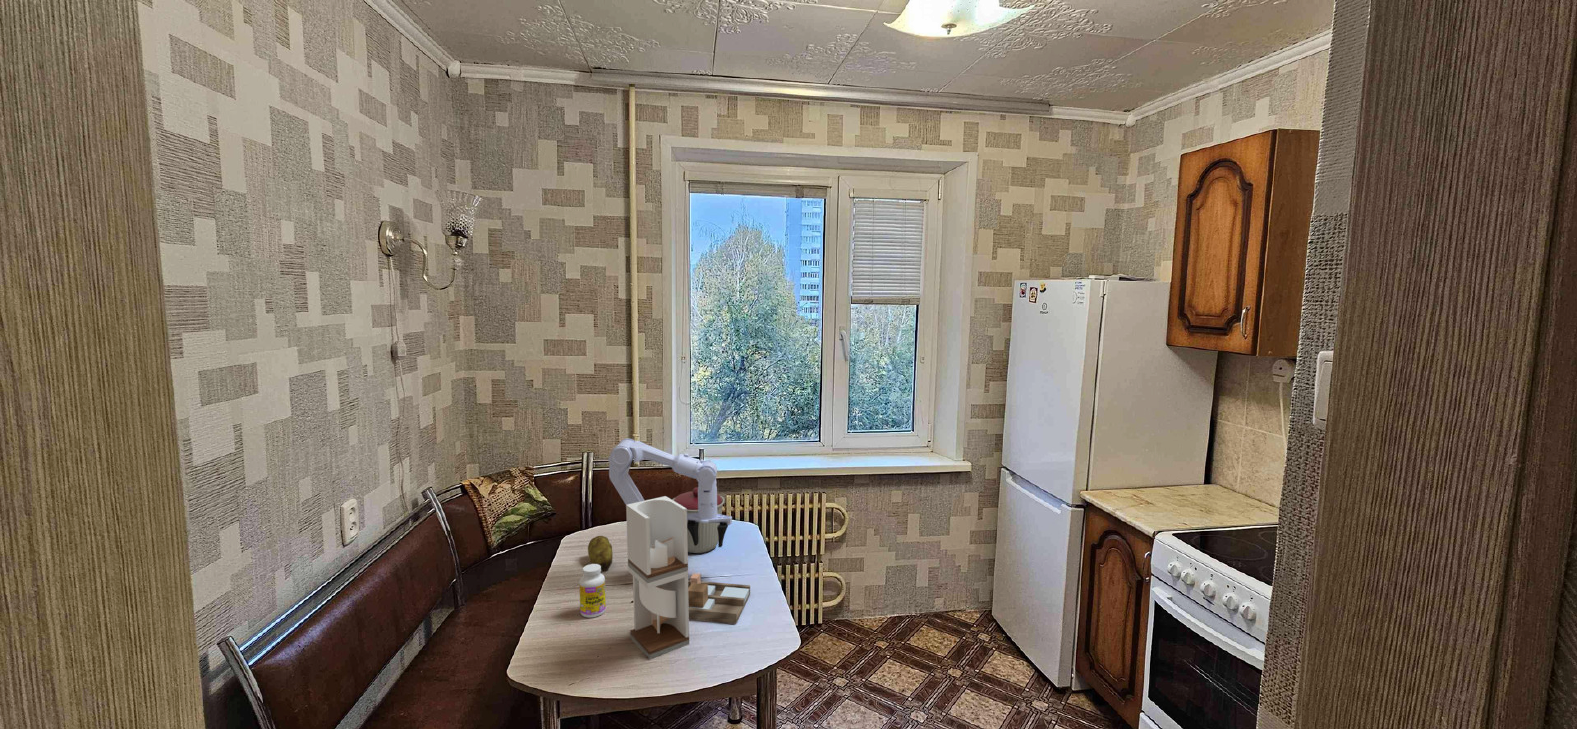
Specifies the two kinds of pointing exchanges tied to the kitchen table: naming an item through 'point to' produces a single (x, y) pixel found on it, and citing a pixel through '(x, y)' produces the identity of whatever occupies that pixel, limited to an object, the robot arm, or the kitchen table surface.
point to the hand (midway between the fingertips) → (708, 545)
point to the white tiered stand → (658, 574)
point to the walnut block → (697, 595)
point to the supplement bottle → (592, 591)
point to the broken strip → (726, 592)
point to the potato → (600, 552)
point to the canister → (705, 530)
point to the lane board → (720, 605)
